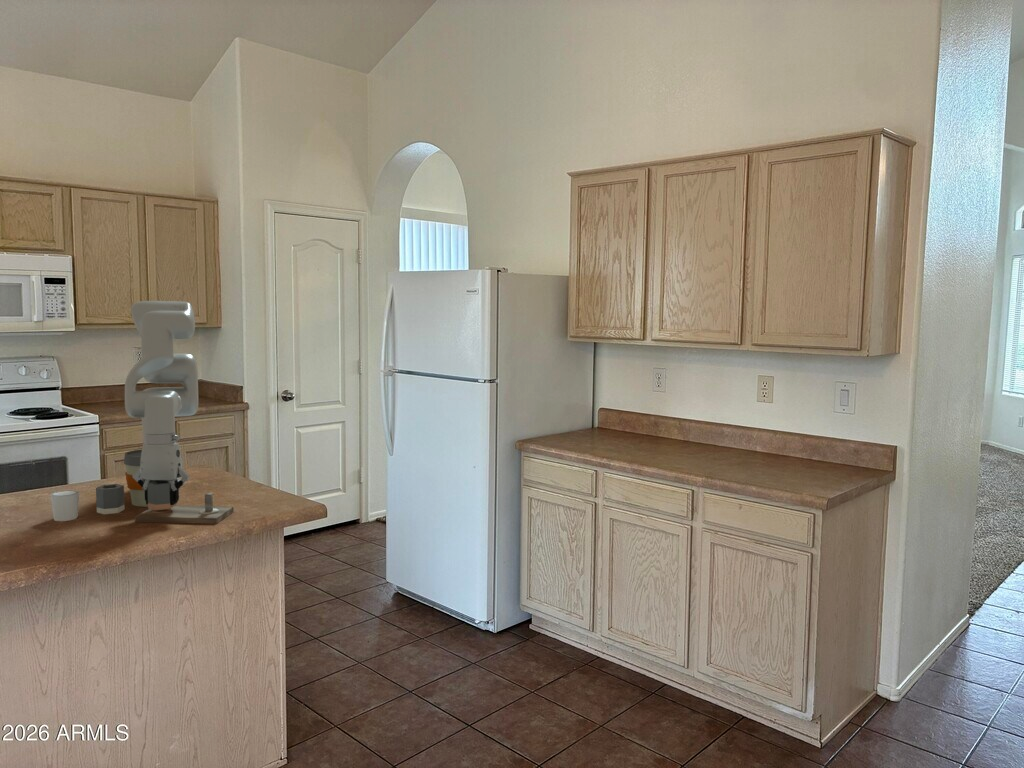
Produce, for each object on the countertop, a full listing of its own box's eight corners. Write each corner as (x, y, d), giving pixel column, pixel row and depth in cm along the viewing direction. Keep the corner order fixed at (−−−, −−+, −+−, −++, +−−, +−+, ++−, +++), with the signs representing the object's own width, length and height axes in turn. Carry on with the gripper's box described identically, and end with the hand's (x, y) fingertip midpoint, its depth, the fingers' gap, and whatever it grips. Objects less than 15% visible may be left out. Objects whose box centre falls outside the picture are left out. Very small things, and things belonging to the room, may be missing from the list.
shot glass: (53, 516, 210) (52, 491, 209) (82, 514, 212) (81, 489, 211) (48, 522, 203) (47, 496, 203) (77, 520, 206) (76, 495, 205)
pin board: (156, 510, 217) (155, 487, 217) (233, 511, 217) (233, 489, 217) (135, 521, 205) (134, 498, 205) (216, 523, 205) (216, 500, 205)
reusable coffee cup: (120, 509, 218) (119, 457, 216) (130, 498, 230) (128, 449, 228) (168, 506, 221) (167, 455, 220) (175, 496, 233) (174, 447, 232)
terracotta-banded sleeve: (157, 503, 215) (156, 478, 214) (178, 503, 215) (177, 479, 214) (144, 509, 208) (144, 484, 207) (167, 510, 208) (166, 485, 207)
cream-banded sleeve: (106, 507, 219) (105, 483, 218) (127, 508, 219) (126, 484, 218) (93, 514, 212) (92, 489, 211) (114, 514, 212) (114, 489, 211)
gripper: (197, 437, 213) (198, 500, 215) (135, 436, 213) (137, 499, 215) (185, 442, 205) (187, 507, 207) (121, 440, 206) (123, 506, 207)
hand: (161, 502), depth 211 cm, fingers closed on terracotta-banded sleeve, 6 cm apart
